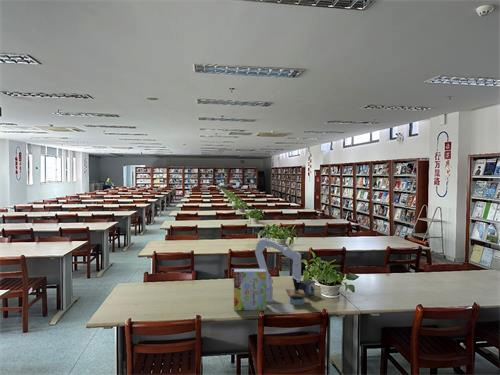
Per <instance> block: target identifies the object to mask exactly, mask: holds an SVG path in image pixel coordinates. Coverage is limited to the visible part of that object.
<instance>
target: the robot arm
mask: <svg viewBox="0 0 500 375" xmlns="http://www.w3.org/2000/svg"><path fill="white" fill-rule="evenodd" d="M265 248H273V249H276V250H277V251H280V252H281V253H282V255H283V256H285V257H287V258H289V259H291V260H292V278H291V280H292V283H293V288H294V287H295V290H296V291H298V290H299V286H300V284H301V281H302V280H301V279H303V275H302V254H301V253H300V252H299V251H297V250H293V249H291V247H287V246H286V247H283V246H282V245H280V244H278V243H277V242H275V241H274V240H271V239H270V238H267V237H264V236H263V237H262V238H260V240H258V242H257V243H256V246H255V250H254V253H255V257H256V261H257V263H258V266H259V269H266V303H274V297H273V295H274V294H273V292H274V288H273V287H274V286H272V285H273V284H274V280H273V278H272V276H271V274H270V273H269V269H268V267H267V264H266V260H265V256H264V250H265Z"/></svg>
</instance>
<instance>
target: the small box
mask: <svg viewBox="0 0 500 375" xmlns="http://www.w3.org/2000/svg"><path fill="white" fill-rule="evenodd" d="M300 281H301V284H300V286H299V290H303V291H304V293H305V294H306V297H305V298H308V297H312V296H315V285H316V284H315V282H316V281H314V280H312V279H304V280H300Z"/></svg>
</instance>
